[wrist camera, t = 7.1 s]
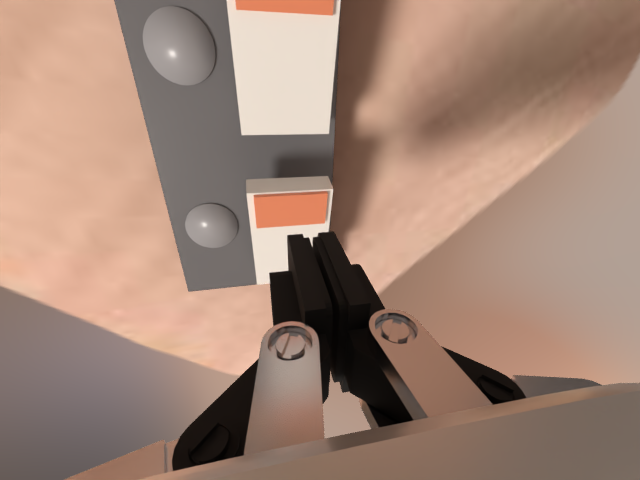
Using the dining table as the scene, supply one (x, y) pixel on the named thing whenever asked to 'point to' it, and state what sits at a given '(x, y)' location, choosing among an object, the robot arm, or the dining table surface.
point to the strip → (208, 135)
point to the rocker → (285, 217)
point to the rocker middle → (284, 64)
